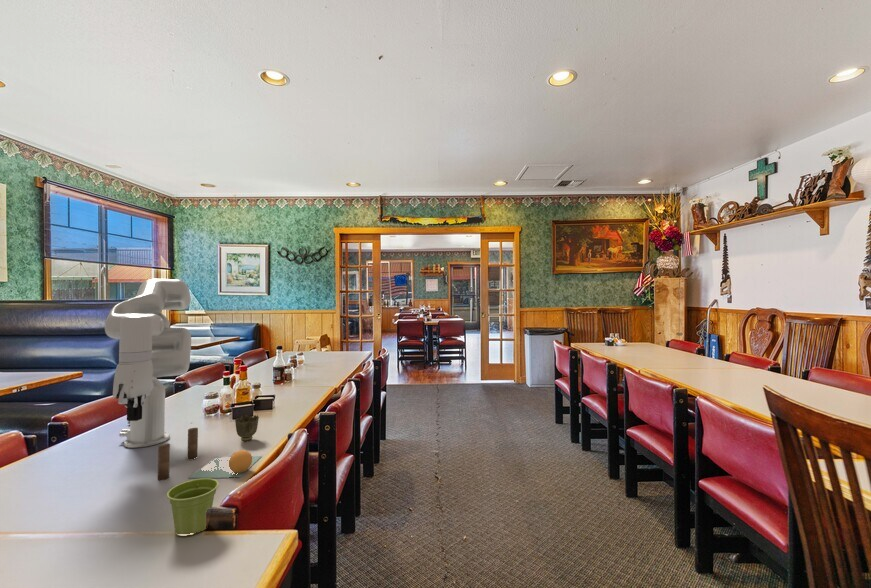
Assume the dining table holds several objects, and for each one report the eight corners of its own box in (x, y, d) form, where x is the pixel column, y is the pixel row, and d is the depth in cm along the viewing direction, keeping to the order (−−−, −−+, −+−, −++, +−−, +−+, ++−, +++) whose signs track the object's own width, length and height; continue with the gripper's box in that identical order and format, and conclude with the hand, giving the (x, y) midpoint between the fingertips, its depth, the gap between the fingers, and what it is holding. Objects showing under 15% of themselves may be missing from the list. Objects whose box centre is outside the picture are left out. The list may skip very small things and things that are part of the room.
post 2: (185, 459, 115) (186, 430, 115) (190, 456, 117) (191, 427, 117) (194, 459, 115) (194, 430, 115) (199, 456, 117) (199, 427, 118)
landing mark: (188, 478, 103) (188, 477, 103) (216, 457, 117) (216, 456, 117) (239, 477, 103) (239, 477, 103) (261, 456, 117) (261, 456, 117)
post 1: (155, 480, 102) (155, 447, 102) (161, 475, 104) (162, 443, 104) (165, 480, 102) (165, 447, 102) (171, 475, 104) (172, 443, 104)
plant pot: (182, 517, 85) (183, 478, 85) (225, 515, 85) (226, 477, 86) (155, 543, 75) (156, 500, 75) (204, 541, 76) (204, 498, 76)
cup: (262, 437, 134) (263, 414, 134) (250, 445, 127) (250, 421, 127) (243, 436, 135) (243, 414, 135) (230, 444, 128) (230, 420, 128)
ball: (236, 480, 104) (219, 467, 104) (246, 472, 109) (231, 459, 110) (250, 463, 104) (234, 449, 104) (260, 456, 110) (244, 443, 110)
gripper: (141, 353, 117) (140, 412, 117) (100, 361, 102) (99, 428, 102) (166, 353, 117) (165, 412, 117) (128, 361, 102) (127, 428, 102)
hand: (134, 419), depth 109 cm, fingers closed
